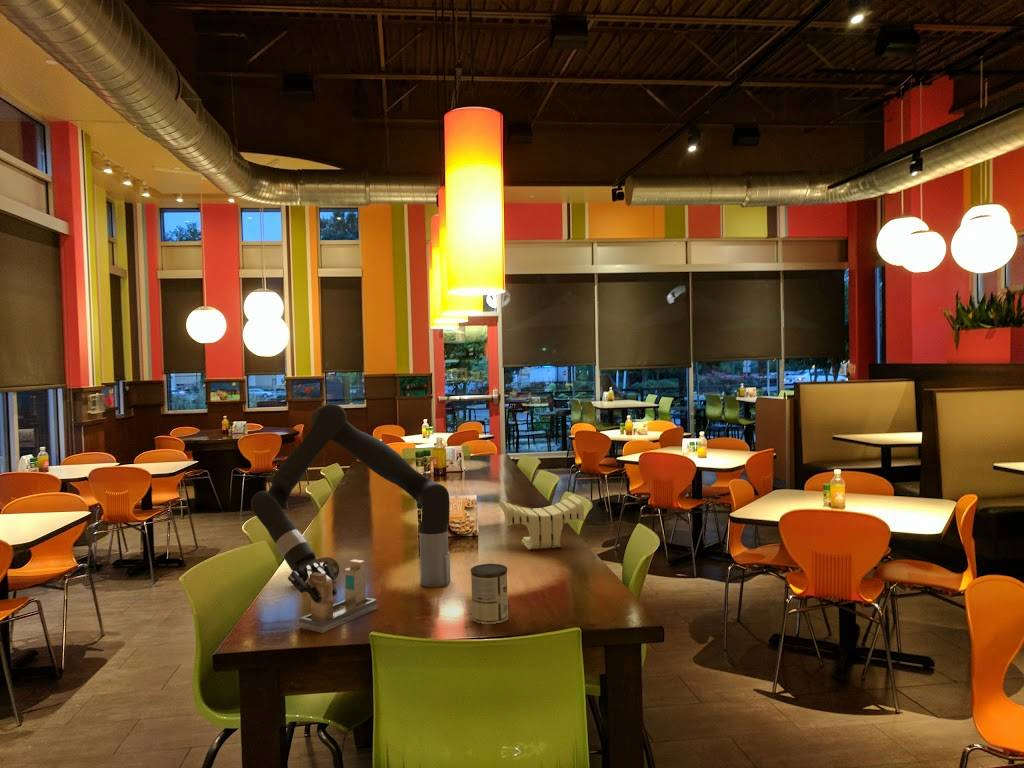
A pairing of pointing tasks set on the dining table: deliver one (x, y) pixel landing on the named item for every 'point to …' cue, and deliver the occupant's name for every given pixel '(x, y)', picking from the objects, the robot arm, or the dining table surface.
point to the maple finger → (325, 589)
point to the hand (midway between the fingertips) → (327, 597)
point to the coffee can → (489, 593)
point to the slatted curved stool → (544, 521)
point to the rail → (346, 601)
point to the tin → (332, 563)
